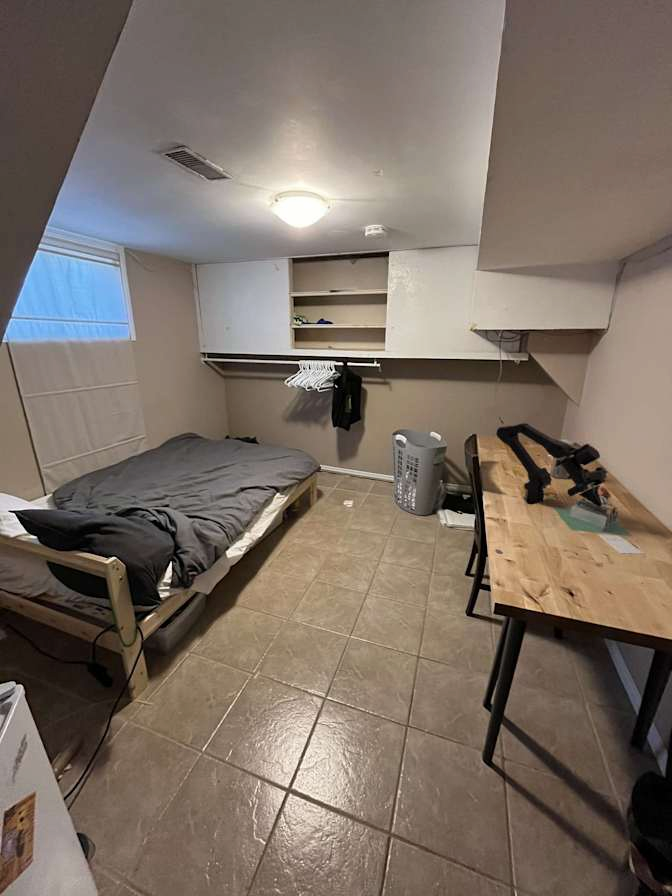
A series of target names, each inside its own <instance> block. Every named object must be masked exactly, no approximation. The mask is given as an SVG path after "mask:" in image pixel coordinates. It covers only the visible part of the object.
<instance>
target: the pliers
mask: <svg viewBox="0 0 672 896" xmlns="http://www.w3.org/2000/svg"><path fill="white" fill-rule="evenodd" d="M599 489H600V490H601V491H600V492H602V493H601V494H599V497H600V500H601V503H602V506H605V504H607V505H609V506H612V504H611V503H610V501H609V500H608V498H609V496H608V490H607V489H606V488H605V487H602V486H600V488H599ZM604 503H605V504H604Z"/></svg>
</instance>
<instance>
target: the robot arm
mask: <svg viewBox="0 0 672 896" xmlns="http://www.w3.org/2000/svg"><path fill="white" fill-rule="evenodd" d="M495 434H496V436H497V438H498V439H499V440H500V441H501V443H503V444H505V445H507V446H508V447H509V448H510V449H511V451H512V453H513V454H514V455H515V457H516V458H517V459H518V461H519V463H521V465H522V466H523V468H524V469H525V471H526V472H527V479H528V481H527V482H525V483H524V484H523V487H524V489H525V494H524V496H523V499H524V501H525V502H526V504H529V505H530V504H531V505H537V504H538V503H541V502H544V499H545V493H544V489H547V487H548V486H550V485H551V484H552V480H553V479H552V476H551V474H550V472H548V469H547V468H546V467H542V468H541V467H540V466H538V465H537V463H536V462H535V461H534V459H533V458H532V456H531V455H530V454H529V452H528V451H527V450H526V448H525V447H524V446H523V444H522V443H521V441H520V440H519V434H522V435H523V436H525V437H527V438H529V439H530V440H532V441H533V442H535V443H537V444H538V445H540V446H542V447H543V448H544V449H545V451H546V452H547V453H548V454H549V455H550V456H551V457H552V458H553V457H554V458H562V457H566V458H564V459H563V460H561V459H559V460H557V464H556V467H558V466H561V465H562V466H563V468H564V469H565V470H566V472H567V473H568V474H567V478H568V480H572V482H573V483H574V484H575V485H574V486H572V487H570V488H568V489H567V491H566V492H567V495H568V496H569V497H574V496H575V495H577V494H578V496H579V497H582V498H584V499H586V500H587V501H590V502H592V503H594V504H596V505H597V506H601V505H602V506H603V504H602V503H601V500H600V497H599V495H600V494H599V493H600V492H599V489H600V488H601V484H604V483H605V482H606V483H607V480H606V478H607V477H608V476H607V473H608V471H607V470H606V469H605V468H604V467H603V466H598V467H596V468H595V470H591V471H590V470H589V469H588V468H584V467H583V466H587V465H589V464H590V463H593V462H595V461H596V460H598V459H600V457H601V454H600V452H599V451H598V449H596V448H595V447H594V446H592V445H590V444H589V443H585V444H584V445H582V446H581V447H579V448H575V447H574V448H573V447H571V446H570V445H569V444H567V443H565V442H562V441H559V440H560V439H555V438H552V437H550V436H548V435H547V434H545V433H543V432H541V431H540V430H538V429H536V428H535V427H533V426H531V425H530V424H528V423H526V422H522V423H521V422H520V423H518V424H516V425H505V426H500V427H498V428H497V430H496V433H495ZM571 455H572V457H571V458H570V457H567V456H571ZM582 465H583V466H582Z"/></svg>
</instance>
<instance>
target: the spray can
mask: <svg viewBox="0 0 672 896" xmlns="http://www.w3.org/2000/svg"><path fill="white" fill-rule="evenodd" d="M558 440H559V441H562V442H565V443H567V444H569V445H570V446H571V447H573V448H575V442H573V441H570V440H569V439H567V438H564V439H558ZM567 457H570V458H571V457H573V455H571V456H567ZM564 458H566V457H562V458H554V457H553V456H552V463H551V467H550V472H549V474H551V476H550V477H551V478H552V477H553V478H557V479H562V480H563V479H567V478H568V473H567V472H566V470H565V469H564V468H563V466H562V465H561V466H558V467H556V464H557V460H559V459H561V460H563V459H564Z"/></svg>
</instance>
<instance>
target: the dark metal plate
mask: <svg viewBox="0 0 672 896" xmlns="http://www.w3.org/2000/svg"><path fill="white" fill-rule="evenodd" d="M579 501H580V504H583V505H586V506H588V507H591V508H594V509H597V510H600V511H603V512H606V513H607V510H612V509H613V508H611V509H609V508H610V507H608V508H606V507H607V506H605V507H603V506H604V505H602V506H597V505H596V504H594V503H591V501H590V502H588V501H589V500H587V501H585V500H581V499H580V500H579ZM613 511H614V510H612V512H611V513H613Z"/></svg>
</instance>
